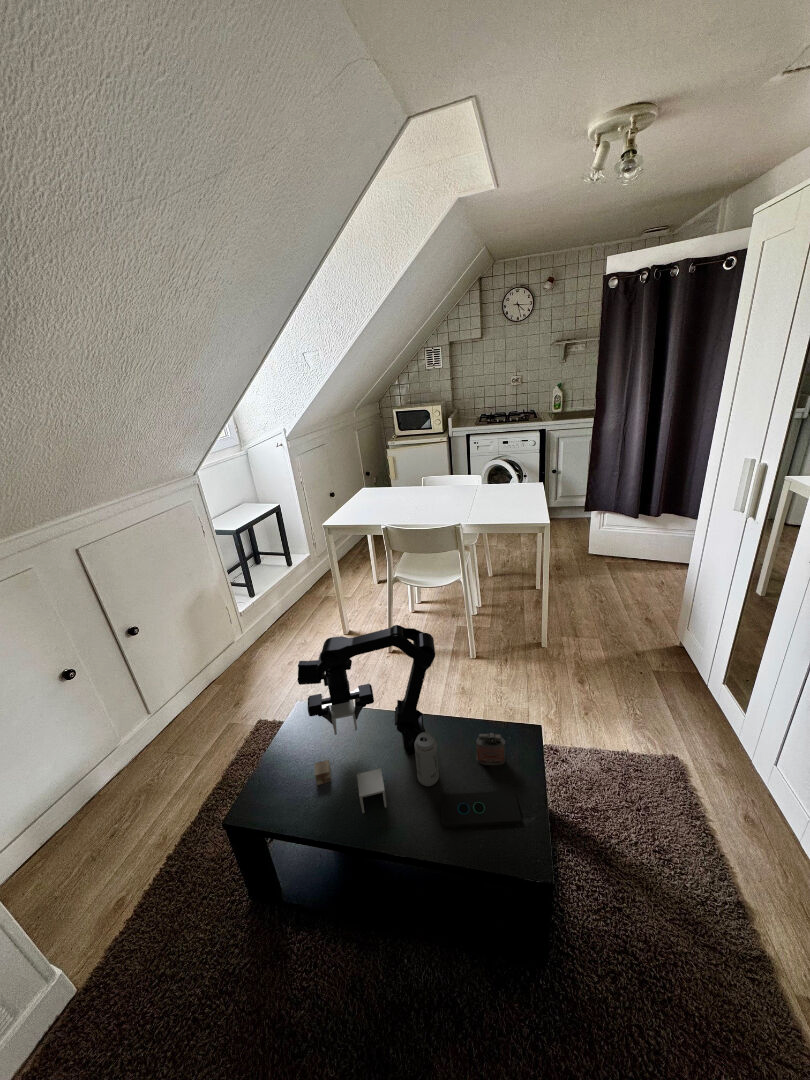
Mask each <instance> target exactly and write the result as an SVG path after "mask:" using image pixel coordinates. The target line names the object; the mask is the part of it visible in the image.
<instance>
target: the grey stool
mask: <svg viewBox="0 0 810 1080" xmlns="http://www.w3.org/2000/svg"><path fill="white" fill-rule="evenodd" d="M382 772H383V771H382V768H377V769H376V768H375V769H373V770H368V771H365V772H360V773H356V778H357V787H358V795H359V803H360V807H361V812H362V814H365V805H364V798H366V797H370V796H374V795H378V794H382V800H383V805H384V806H383V807H384V808H387V807H388V804H387V797H386V791H385V790H386V789H385V785H384V778H383V773H382Z"/></svg>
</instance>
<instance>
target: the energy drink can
mask: <svg viewBox="0 0 810 1080" xmlns="http://www.w3.org/2000/svg"><path fill="white" fill-rule="evenodd" d="M437 743H438V742H437V739H435V737H434V735H433V734H432V733H431V732H428V731H425V732H423V733H420V734H419V735H418V736H417V738H416V740H415V744H414V746H415V753H414V754H415V767H416V777H417V780H418V783H420V785H423V786H425V787H431V786H434V785H435V784H436V783H437V782H438V780H439V778H440V776H439V775H440V774H439V760H438V744H437Z"/></svg>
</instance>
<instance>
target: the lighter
mask: <svg viewBox="0 0 810 1080" xmlns="http://www.w3.org/2000/svg"><path fill="white" fill-rule="evenodd" d="M475 742H476V743H475V744H476V763H478V764H480V765H485V766H500V765H504V764H505V763H506V762H505V761H506V758H505V747H506V741H505V738H503V737H502V736H501V734H499V733H498V734H495V732H489V733H479V734H478V737H477V738H476V741H475Z"/></svg>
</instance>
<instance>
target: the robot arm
mask: <svg viewBox="0 0 810 1080" xmlns="http://www.w3.org/2000/svg"><path fill="white" fill-rule="evenodd" d="M391 647H395V648H397V649H399V650H400V651H402V652H403V654H405V655H406V656H408V657H409V658H411V659H412V664H411V668H410V669H411V670H410V673H409V677H408V681H407V686H406V691H405V694H404V698H403V699H397V700H396V701H397V702H396V703H397V704H396V707H395V708H394V726H396V731H398V732H399V733H400V734H401V738H402V739H401V740H402V745H403V748H404V749H405V752H406V755H408V756H410V755H414V754H415V746H414V744H415V740H416V738H417V736H418V735H419V734H420V733H423V732H426V729H425V726H424V714H423V712H422V711H420V710H418V709H417V707H418V704H419V700H420V697H421V693H422V689H423V684H424V680H425V676H426V672H427V670H428V669H429V668H430V667H431V666H432V665H433V663H434V660H435V658H436V648H435V639H434V636H433V635H431V634H430V633H428V632H423V631H421V630H418V629H416V628H411V627H410V628H409V627H408V628H407V627H403V626H402V625H398V624H395V625H393V626H391V627H388V628H385V629H380V630H376V631H372V632H369V633H365V634H361V635H357V636H352V637H346V636H341V635H340V636H331V637H328V638H326V640H325V641H324V643H323V645H322V648H321V652H320V653H319V656H318V659H315V660H299V661H298V665H297V683H298V685H299V686H302V685H303V686H304V685H317V684H318V685H319V684H321V683H322V680H323V684H324V685H323V686H324V687H327V688H328V693H329V697H325V698H323V696H322V693H317V694H316V693H315V694H311V695H308V697H307V712H308V716H309V717H315V716H318V717H322V718H324V719H325V720H327V722H329V723H330V724H331V725H332V726H333V723H332V718H331V705H336V704H341V703H346V702H349V700H353V701H354V709H355V717H356V721H358V718H359V716H360V713H361V711H362V710H363V708H365V707H366V706H367V705H372V704H373V703H374V702H375V698H374V691H373V688H372V687H373V685H371V683H367V684H365V683H364V684H361V685H357V687H358V688H356V689H354V691H351V690H350V682H349V680H348V679H349V678H348V674H347V671H350V670H352V669H351V668H352V663H353V660H352V659H351V658H353V657H356V656H359V655H360V656H361V655H363V654H367V653H371V652H375V651H376V652H377V651H380V650H383V649H387V648H391Z"/></svg>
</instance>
